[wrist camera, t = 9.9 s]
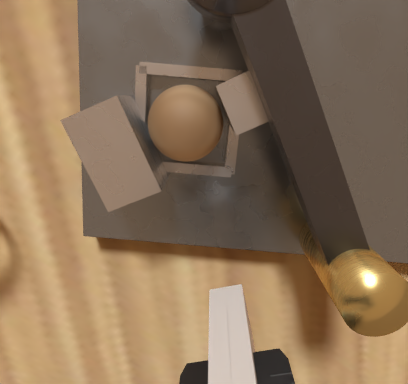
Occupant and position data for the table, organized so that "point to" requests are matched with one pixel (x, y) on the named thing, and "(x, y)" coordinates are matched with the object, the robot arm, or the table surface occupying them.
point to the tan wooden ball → (185, 123)
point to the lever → (307, 161)
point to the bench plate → (230, 143)
